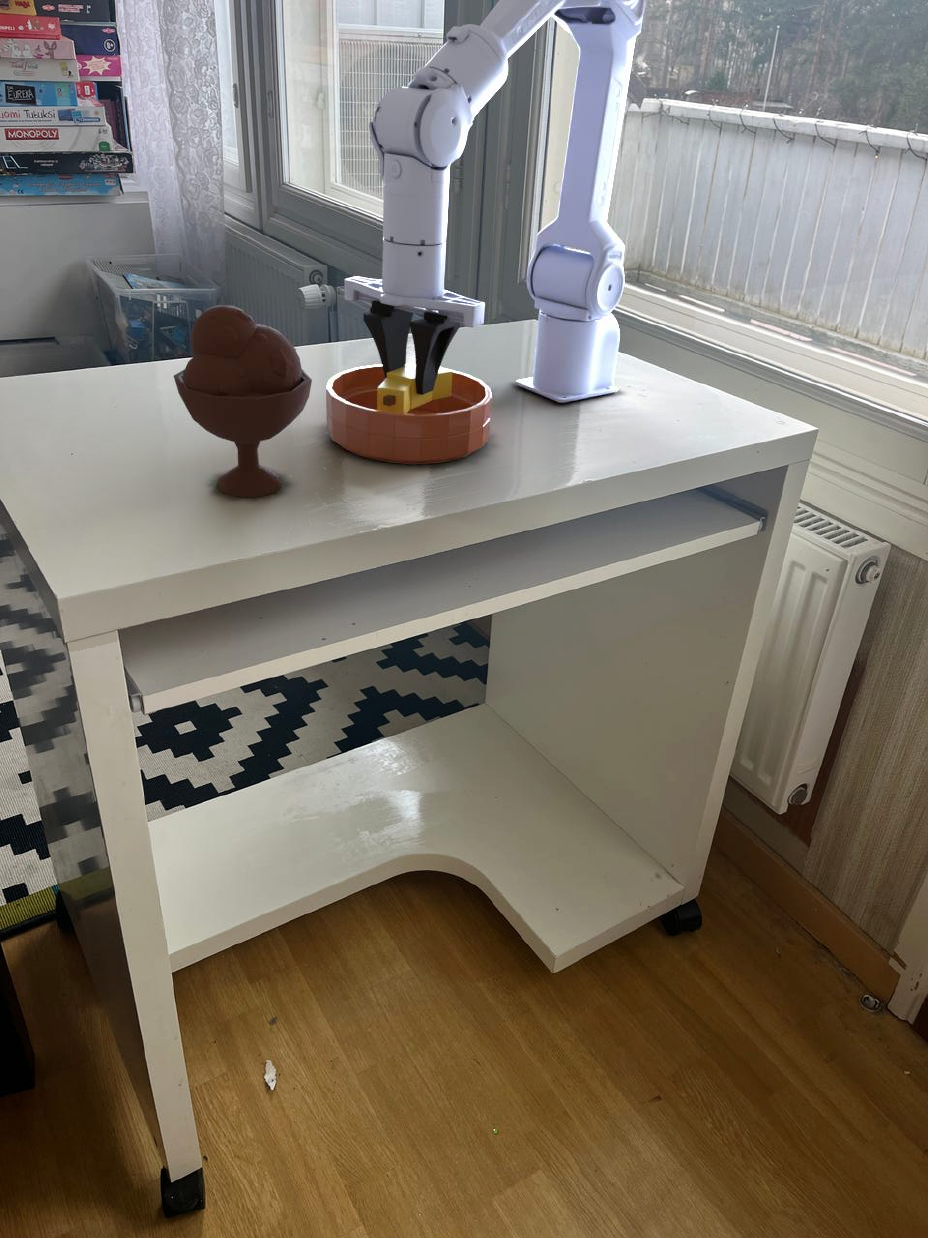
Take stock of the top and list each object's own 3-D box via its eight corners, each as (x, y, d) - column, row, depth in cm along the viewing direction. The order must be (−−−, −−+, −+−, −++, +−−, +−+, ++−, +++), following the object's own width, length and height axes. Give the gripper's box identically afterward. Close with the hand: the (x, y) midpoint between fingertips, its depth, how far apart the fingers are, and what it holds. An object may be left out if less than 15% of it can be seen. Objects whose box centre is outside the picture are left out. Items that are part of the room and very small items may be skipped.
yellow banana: (425, 387, 98) (426, 357, 96) (455, 394, 96) (457, 365, 94) (363, 412, 90) (363, 380, 88) (395, 420, 88) (396, 389, 87)
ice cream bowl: (199, 517, 76) (182, 329, 69) (176, 466, 85) (159, 294, 77) (326, 503, 80) (324, 323, 73) (292, 455, 89) (287, 290, 81)
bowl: (425, 401, 105) (427, 356, 102) (520, 448, 94) (524, 399, 92) (297, 425, 96) (296, 376, 93) (386, 479, 85) (387, 426, 83)
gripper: (323, 232, 86) (325, 381, 93) (458, 257, 79) (449, 414, 86) (370, 225, 91) (368, 365, 98) (500, 248, 85) (489, 396, 92)
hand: (409, 387), depth 92 cm, fingers closed on yellow banana, 3 cm apart
